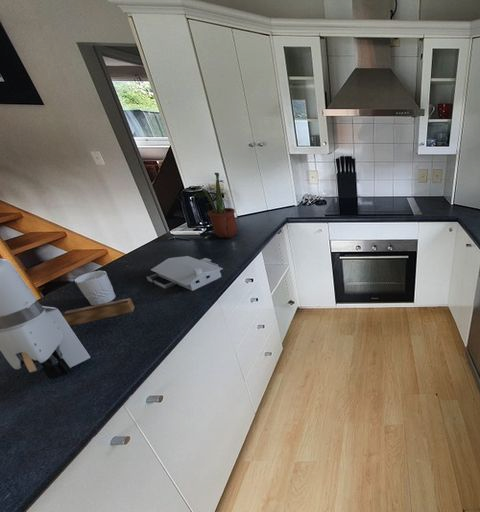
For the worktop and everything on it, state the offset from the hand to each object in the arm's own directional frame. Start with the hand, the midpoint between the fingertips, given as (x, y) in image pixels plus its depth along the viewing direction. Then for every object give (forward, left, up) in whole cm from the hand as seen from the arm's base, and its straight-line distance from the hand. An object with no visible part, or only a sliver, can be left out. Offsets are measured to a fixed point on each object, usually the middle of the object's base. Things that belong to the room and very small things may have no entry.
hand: (60, 374), depth 66 cm
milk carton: (-1, +5, -2) cm, 5 cm away
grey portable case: (+24, +47, -3) cm, 53 cm away
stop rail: (-1, +29, -3) cm, 29 cm away
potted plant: (+35, +87, -3) cm, 94 cm away
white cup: (-4, +41, -3) cm, 41 cm away
